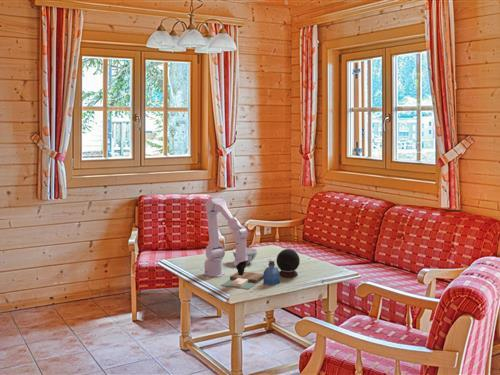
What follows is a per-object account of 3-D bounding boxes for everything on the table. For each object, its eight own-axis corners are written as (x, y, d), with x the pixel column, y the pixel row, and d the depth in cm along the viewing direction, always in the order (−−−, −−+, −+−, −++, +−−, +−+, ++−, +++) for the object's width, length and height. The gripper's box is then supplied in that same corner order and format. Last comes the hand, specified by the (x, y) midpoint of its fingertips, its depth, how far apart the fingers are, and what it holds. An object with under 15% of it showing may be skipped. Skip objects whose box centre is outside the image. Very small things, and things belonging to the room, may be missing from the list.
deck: (229, 280, 306) (229, 276, 306) (239, 274, 317) (239, 271, 316) (256, 283, 300) (256, 280, 299) (265, 277, 310) (265, 274, 310)
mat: (221, 285, 296) (221, 284, 296) (229, 280, 305) (229, 279, 305) (248, 289, 290) (248, 288, 289) (256, 283, 299) (256, 283, 299)
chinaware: (228, 264, 338) (228, 251, 337) (240, 258, 351) (240, 246, 350) (250, 267, 331) (250, 254, 330) (261, 261, 344) (261, 249, 343)
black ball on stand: (302, 277, 310) (302, 251, 308) (279, 279, 308) (279, 252, 306) (296, 271, 323) (296, 246, 321) (274, 272, 321) (274, 247, 319)
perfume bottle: (272, 285, 296) (272, 263, 295) (263, 283, 300) (263, 261, 299) (279, 283, 301) (279, 261, 299) (270, 280, 305) (270, 259, 303)
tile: (231, 285, 295) (231, 282, 295) (238, 280, 303) (238, 278, 303) (241, 286, 293) (241, 283, 293) (248, 282, 301) (248, 279, 301)
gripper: (242, 254, 289) (242, 279, 291) (253, 248, 303) (252, 272, 304) (229, 253, 292) (229, 278, 294) (241, 246, 305) (241, 270, 307)
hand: (240, 275), depth 299 cm, fingers closed
